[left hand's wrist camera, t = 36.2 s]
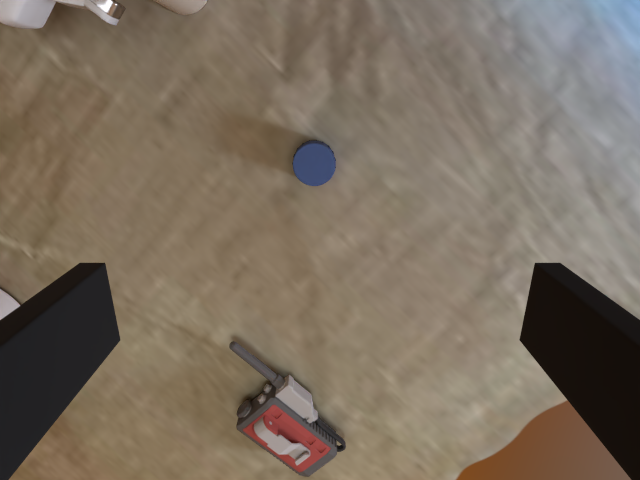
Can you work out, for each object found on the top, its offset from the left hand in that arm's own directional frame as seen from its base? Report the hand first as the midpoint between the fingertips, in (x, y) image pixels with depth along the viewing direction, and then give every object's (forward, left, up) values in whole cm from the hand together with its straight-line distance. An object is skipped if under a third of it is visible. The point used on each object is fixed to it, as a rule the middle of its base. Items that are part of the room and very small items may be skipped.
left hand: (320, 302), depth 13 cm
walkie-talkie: (+18, +24, -29) cm, 42 cm away
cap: (0, 0, -27) cm, 27 cm away
